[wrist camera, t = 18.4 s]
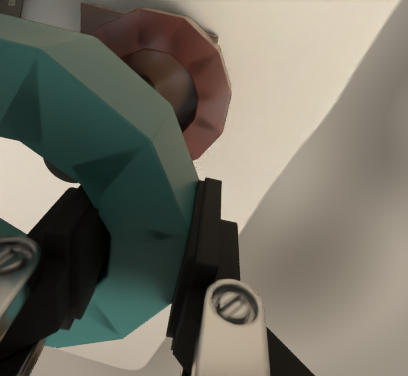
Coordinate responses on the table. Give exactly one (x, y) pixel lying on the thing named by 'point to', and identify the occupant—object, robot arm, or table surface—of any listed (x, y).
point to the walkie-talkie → (11, 7)
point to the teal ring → (103, 164)
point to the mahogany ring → (187, 56)
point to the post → (146, 72)
